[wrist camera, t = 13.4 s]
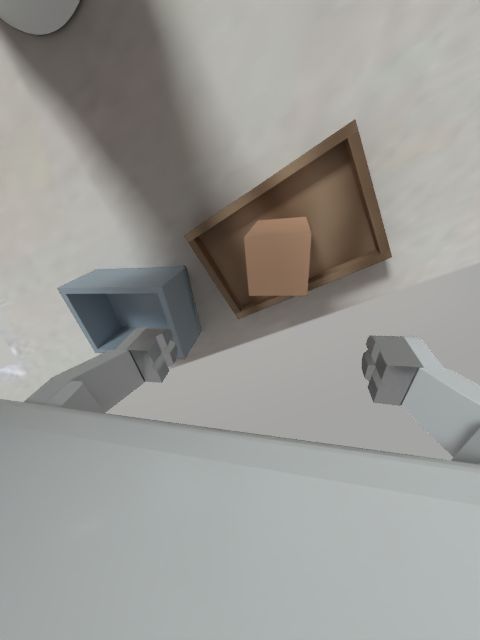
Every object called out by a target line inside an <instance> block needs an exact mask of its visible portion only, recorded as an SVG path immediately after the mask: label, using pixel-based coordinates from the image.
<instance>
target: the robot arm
mask: <svg viewBox="0 0 480 640" xmlns="http://www.w3.org/2000/svg"><path fill="white" fill-rule="evenodd" d="M79 1H80V0H0V18H1V19H2V20H3V21H5V22H6V23H8V24H9V25H11V26H13V27H14V28H16V29H18V30H21V31H23V32H26V33H30V34H36V35H42V34H48V33H52V32H54V31H56V30H58V29H59V28H61V27H62V26H63V25H64V24H65V23H66V22H67V21H68V20H69V19H70V17H71V16H72V15H73V13H74V11H75V10H76V8H77V6H78V4H79ZM172 338H173V334H172V332H171V330H170V329H165V328H147V327H139V328H136V329H135V330H134V331H133V332H132V333H131V334H130V335H129V336H128V337H127V338H126V339H125V340H124V341H123V342H122V343H121V344H120V345H119V346H118V347H117V348H116V349H111V350H109V351H107V352H105V353H103V354H101V355H99V356H97V357H94V358H92V359H90V360H88V361H86V362H84V363H82V364H80V365H78V366H75V367H73V368H71V369H69V370H67V371H65V372H63V373H61V374H59V375H56V376H54V377H52V378H51V379H50V380H49V381H47V382H46V383H45V384H44V385H43V386H42V387H40V388H39V389H38V390H37V391H36V392H35V393H34V394H32V395H31V396H30V397H29V398H28V399H27V400H25V401H24V402H18V401H11V400H4V399H0V640H480V386H479V385H478V384H476V383H474V382H472V381H470V380H468V379H467V378H465V377H463V376H461V375H459V374H457V373H456V372H454V371H452V370H449V369H444V368H443V366H442V365H441V364H440V363H439V361H438V360H437V359H436V357H435V356H434V355H433V353H432V352H431V351H430V350H429V348H428V347H427V346H426V345H425V343H424V342H423V341H422V339H421V338H419V337H417V336H400V337H395V336H369V338H368V339H367V343H366V345H367V348H368V350H367V351H366V352H365V353H364V354H363V358H362V370H363V374H364V377H365V378H366V379H367V380H368V381H369V386H368V389H369V391H370V394H371V397H372V399H373V402H375V403H383V404H392V405H400V406H401V408H403V409H404V410H405V411H406V412H407V413H408V414H409V415H410V416H411V417H412V418H413V419H414V420H415V421H416V422H417V423H418V424H419V425H420V426H421V427H422V428H423V429H425V430H426V431H427V432H428V433H429V434H430V435H431V436H432V437H433V438H434V439H435V440H436V441H437V442H438V443H440V445H441V446H442V447H443V448H444V449H445V450H447V451H448V452H449V453H450V454H451V455H452V456H453V457H454V458H453V459H452V460H443V459H436V458H428V457H420V456H414V455H407V454H399V453H392V452H385V451H378V450H370V449H363V448H355V447H348V446H341V445H333V444H326V443H318V442H311V441H303V440H296V439H289V438H281V437H274V436H267V435H259V434H252V433H245V432H237V431H230V430H223V429H216V428H208V427H201V426H194V425H187V424H179V423H172V422H164V421H157V420H150V419H142V418H135V417H128V416H121V415H113V414H106V413H105V412H107V411H108V410H109V409H110V408H112V407H113V406H114V405H116V404H117V403H118V402H120V401H121V400H122V399H124V398H125V397H126V396H127V395H129V394H130V393H131V392H133V391H134V390H135V389H137V388H138V387H139V386H140V385H142V384H143V383H144V381H145V382H161V383H162V382H163V380H164V378H165V377H166V375H167V373H168V372H169V369H168V367H169V366H171V365H172V364H174V362H175V360H176V358H177V353H178V352H177V346H176V344H175V343H174V342H173V341H172Z"/></svg>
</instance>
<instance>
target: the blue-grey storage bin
mask: <svg viewBox="0 0 480 640" xmlns="http://www.w3.org/2000/svg"><path fill="white" fill-rule="evenodd" d="M57 289H58V290H59V292H60V294H61V295H62V297H63V299H64V301H65V302H66V304H67V306H68V307H69V309H70V311H71V312H72V314H73V316H74V317H75V319H76V321H77V322H78V324H79V326H80V328H81V329H82V331H83V333H84V334H85V336H86V338H87V339H88V341H89V343H90V344H91V346H92V348H93V349H94V351H95V353H105V352H107V351H109V350H111V349H116V348H117V347H118V346H119V345H120V344H121V343H122V342H123V341H124V340H125V339H126V338H127V337H128V336H129V335H130V334H131V333H132V332H133V331H134V330H135V329H136V328H139V327H147V328H165V329H170V330H171V332H172V334H173V338H172V341H173V342H174V343H175V344H176V346H177V352H178V353H177V358H178V359H185V358H186V356H187V354H188V352H189V351H190V349H191V347H192V346H193V344H194V342H195V341H196V339H197V337H198V336H199V334H200V332H201V328H200V324H199V320H198V316H197V311H196V307H195V303H194V299H193V295H192V291H191V286H190V282H189V278H188V274H187V270H186V267H160V268H132V269H103V270H94V271H92V272H90V273H88V274H86V275H84V276H81V277H79V278H77V279H75V280H73V281H71V282H69V283H67V284H64V285H62V286H60V287H58V288H57Z"/></svg>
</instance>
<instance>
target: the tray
mask: <svg viewBox="0 0 480 640" xmlns="http://www.w3.org/2000/svg"><path fill="white" fill-rule="evenodd" d="M296 217H306V218H307V221H308V224H309V227H310V230H311V248H310V263H309V278H308V291H309V290H312V289H314V288H317V287H319V286H322V285H324V284H326V283H329V282H331V281H334V280H336V279H339V278H341V277H344V276H346V275H349V274H351V273H354V272H356V271H359V270H361V269H364V268H366V267H369V266H371V265H374V264H376V263H379V262H381V261H384V260H386V259H389V258H391V257H392V255H391V252H390V248H389V244H388V240H387V237H386V233H385V229H384V225H383V222H382V218H381V214H380V210H379V207H378V203H377V199H376V195H375V192H374V188H373V184H372V180H371V177H370V173H369V169H368V165H367V162H366V158H365V154H364V150H363V147H362V143H361V139H360V135H359V132H358V128H357V124H356V120H353V121H352V122H350V123H349V124H348V125H346V126H345V127H343V128H342V129H340V130H339V131H337V132H336V133H334V134H333V135H331V136H330V137H328V138H327V139H326V140H324V141H323V142H321V143H320V144H318V145H317V146H315V147H314V148H312V149H311V150H309V151H308V152H307V153H305V154H304V155H302V156H301V157H299V158H298V159H296V160H295V161H293V162H292V163H290V164H289V165H287V166H286V167H285V168H283V169H282V170H280V171H279V172H277V173H276V174H274V175H273V176H271V177H270V178H268V179H267V180H266V181H264V182H263V183H261V184H260V185H258V186H257V187H255V188H254V189H252V190H251V191H249V192H248V193H246V194H245V195H244V196H242V197H241V198H239V199H238V200H236V201H235V202H233V203H232V204H230V205H229V206H227V207H226V208H225V209H223V210H222V211H220V212H219V213H217V214H216V215H214V216H213V217H211V218H210V219H208V220H207V221H205V222H204V223H203V224H201V225H200V226H198V227H197V228H195V229H194V230H192V231H191V232H189V233H188V234H186V235H185V236H184V237H185V238H186V240H187V241H188V243H189V244H190V246H191V247H192V249H193V250H194V252H195V253H196V255H197V256H198V258H199V259H200V261H201V262H202V264H203V266H204V267H205V269H206V270H207V272H208V273H209V275H210V276H211V278H212V279H213V281H214V282H215V284H216V285H217V287H218V288H219V290H220V292H221V293H222V295H223V296H224V298H225V299H226V301H227V302H228V304H229V305H230V307H231V308H232V310H233V311H234V313H235V314H236V316H237V318H238V319H240V318H242V317H245V316H247V315H250V314H252V313H254V312H257V311H259V310H262V309H264V308H267V307H269V306H272V305H274V304H277V303H279V302H282V301H284V300H287V299H289V298H292V297H294V296H249V289H248V278H247V267H246V256H245V244H244V237H245V236H246V234H247V233H248V232H249V231H250V229H251V228H252V227H253V226H254V225H255V223H256V222H257V221H258V220H271V219H283V218H296Z"/></svg>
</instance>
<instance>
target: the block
mask: <svg viewBox="0 0 480 640" xmlns="http://www.w3.org/2000/svg"><path fill="white" fill-rule="evenodd" d="M244 244H245V256H246V267H247V278H248V289H249V296H307V292H308V278H309V263H310V248H311V230H310V227H309V224H308V221H307V218H306V217H296V218H283V219H271V220H258V221H257V222H256V223H255V225H254V226H253V227H252V228H251V229H250V231H249V232H248V233H247V234H246V236H245V237H244Z"/></svg>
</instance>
